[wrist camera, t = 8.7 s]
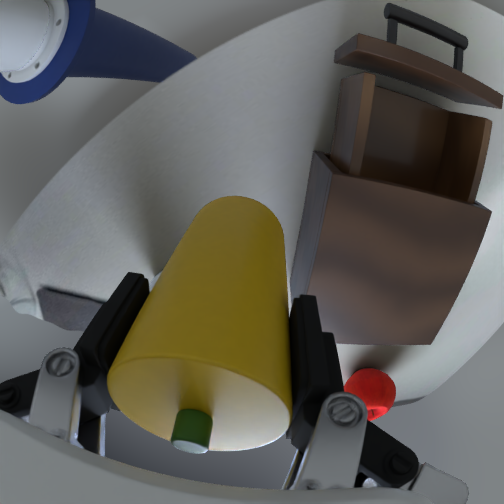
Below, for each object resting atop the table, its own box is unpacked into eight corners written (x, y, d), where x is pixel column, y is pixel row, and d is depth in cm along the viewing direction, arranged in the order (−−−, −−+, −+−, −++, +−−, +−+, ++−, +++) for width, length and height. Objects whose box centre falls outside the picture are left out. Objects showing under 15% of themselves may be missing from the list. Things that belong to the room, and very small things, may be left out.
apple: (378, 389, 40) (387, 427, 33) (331, 391, 40) (336, 432, 33) (396, 356, 36) (410, 397, 29) (345, 358, 36) (354, 403, 30)
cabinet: (312, 150, 24) (332, 173, 16) (441, 179, 24) (492, 211, 16) (289, 281, 31) (293, 341, 23) (403, 292, 30) (430, 344, 23)
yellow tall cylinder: (190, 274, 18) (120, 455, 7) (191, 190, 15) (63, 364, 5) (277, 284, 17) (274, 482, 7) (290, 201, 15) (318, 411, 5)
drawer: (338, 8, 17) (360, -20, 11) (461, 52, 17) (505, 48, 11) (315, 189, 25) (329, 219, 19) (433, 211, 25) (468, 243, 19)
